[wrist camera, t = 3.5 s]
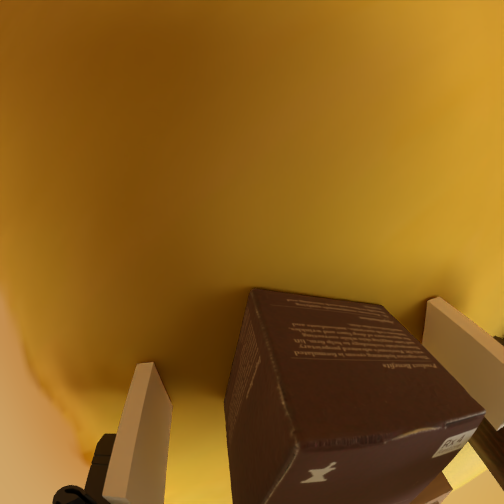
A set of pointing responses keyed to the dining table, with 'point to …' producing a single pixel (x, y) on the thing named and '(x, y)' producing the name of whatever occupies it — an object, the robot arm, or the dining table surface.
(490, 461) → the manual coffee grinder
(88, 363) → the dining table surface
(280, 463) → the box
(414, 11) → the dining table surface
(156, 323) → the dining table surface
